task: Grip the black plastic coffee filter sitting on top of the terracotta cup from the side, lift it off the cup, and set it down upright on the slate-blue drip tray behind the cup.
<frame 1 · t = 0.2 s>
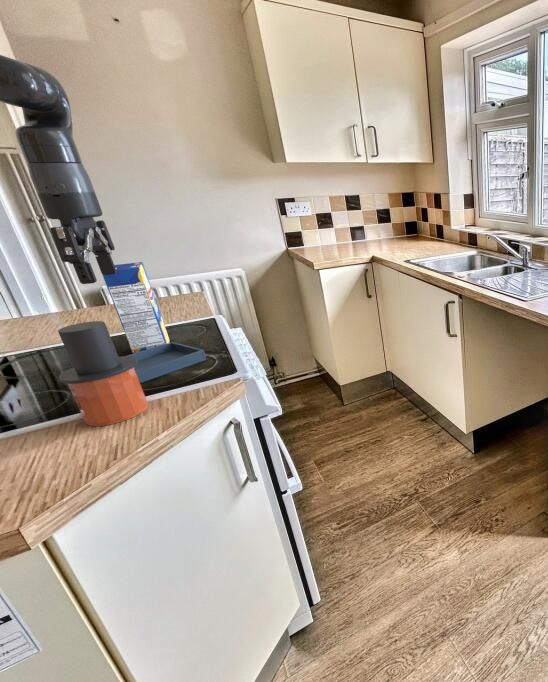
hand: (100, 278, 82), 24 cm above the worktop, tool pointing down, fingers open, 8 cm apart
beverage box: (153, 349, 112), on the worktop
cup: (118, 413, 80), on the worktop
tray: (147, 369, 99), on the worktop
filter: (106, 385, 78), point 6 cm above the worktop, touching cup
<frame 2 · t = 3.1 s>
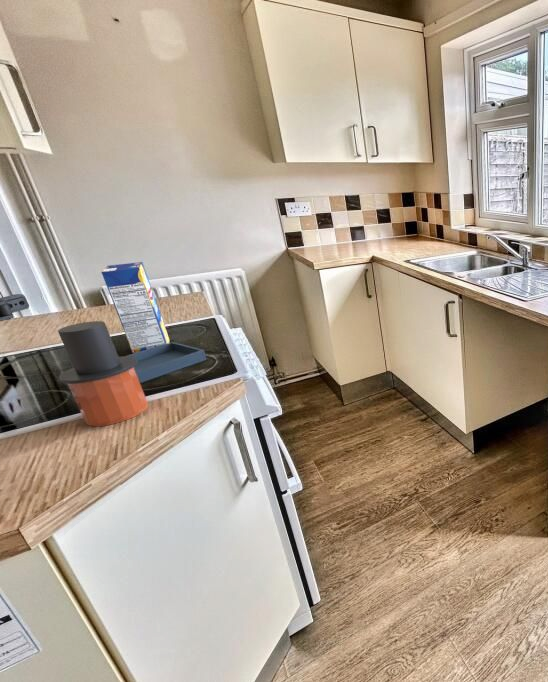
nothing on the worktop moved.
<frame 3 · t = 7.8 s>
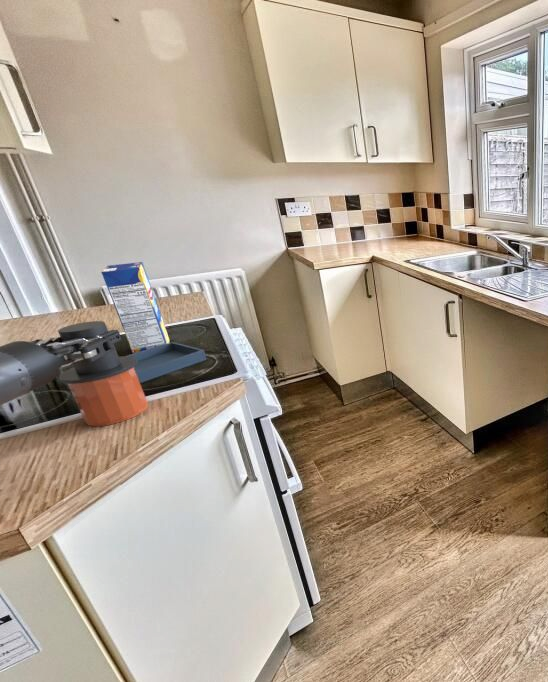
hand: (99, 335, 77), 15 cm above the worktop, tool horizontal, fingers closed on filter, 6 cm apart
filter: (106, 385, 78), point 6 cm above the worktop, touching cup, gripper
everything else where it was.
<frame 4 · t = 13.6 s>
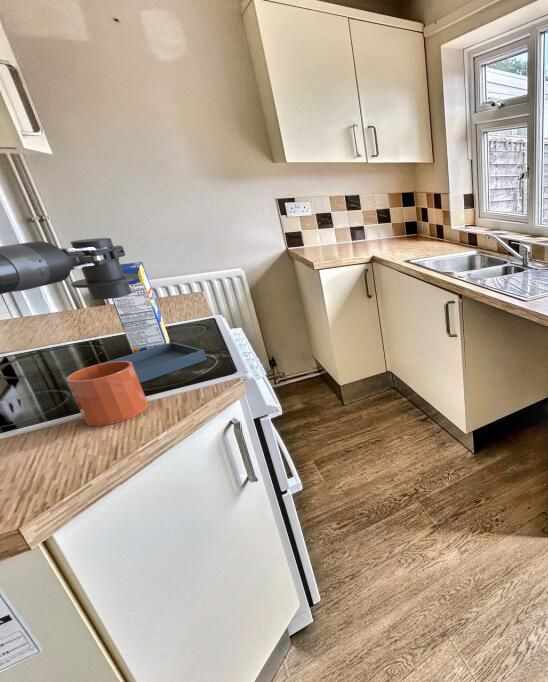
hand: (105, 251, 88), 28 cm above the worktop, tool horizontal, fingers closed on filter, 6 cm apart
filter: (112, 295, 89), point 19 cm above the worktop, touching gripper
everything else where it was.
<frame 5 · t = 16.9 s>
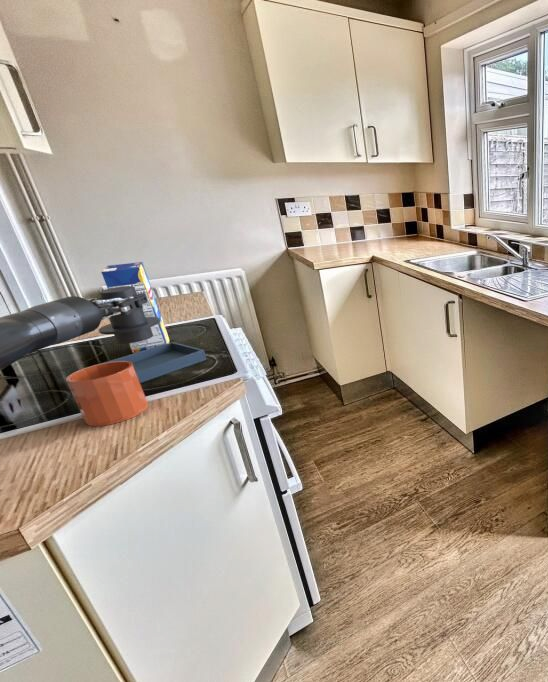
hand: (129, 298, 95), 17 cm above the worktop, tool horizontal, fingers closed on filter, 6 cm apart
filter: (135, 338, 96), point 8 cm above the worktop, touching gripper
everything else where it was.
when the fingers open (10 cm above the worktop, at t = 19.4 s): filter stays where it is, resting on tray.
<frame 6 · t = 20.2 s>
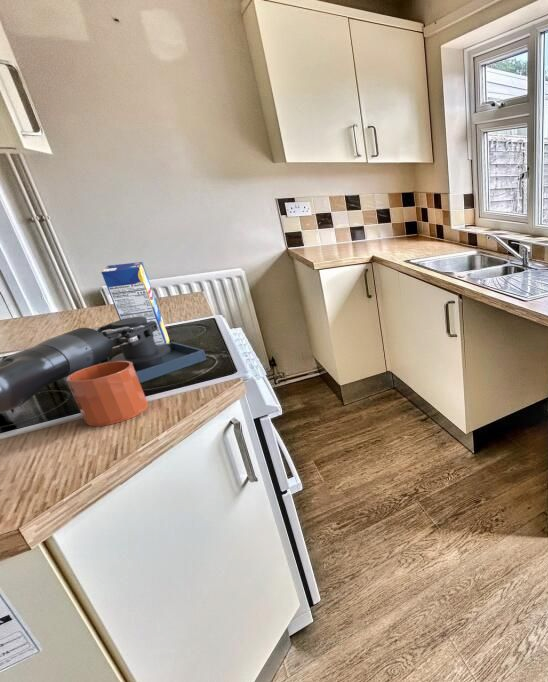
hand: (136, 325, 97), 11 cm above the worktop, tool horizontal, fingers open, 8 cm apart
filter: (146, 367, 99), point 1 cm above the worktop, touching tray
everything else where it was.
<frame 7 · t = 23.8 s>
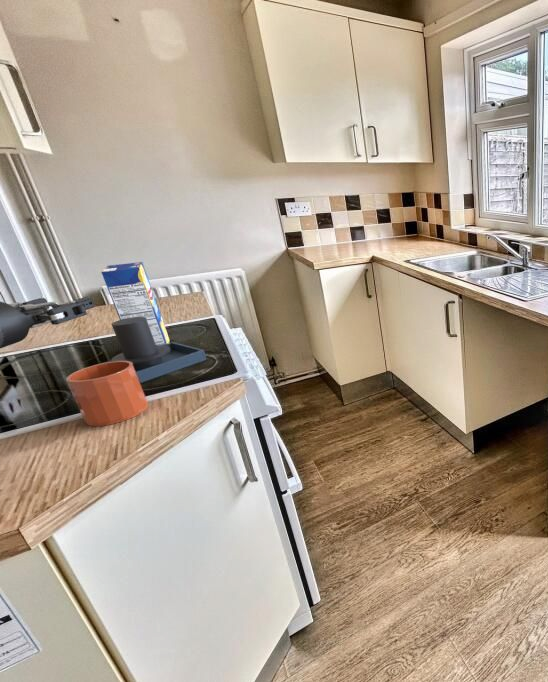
hand: (68, 302, 82), 20 cm above the worktop, tool horizontal, fingers open, 8 cm apart
nothing on the worktop moved.
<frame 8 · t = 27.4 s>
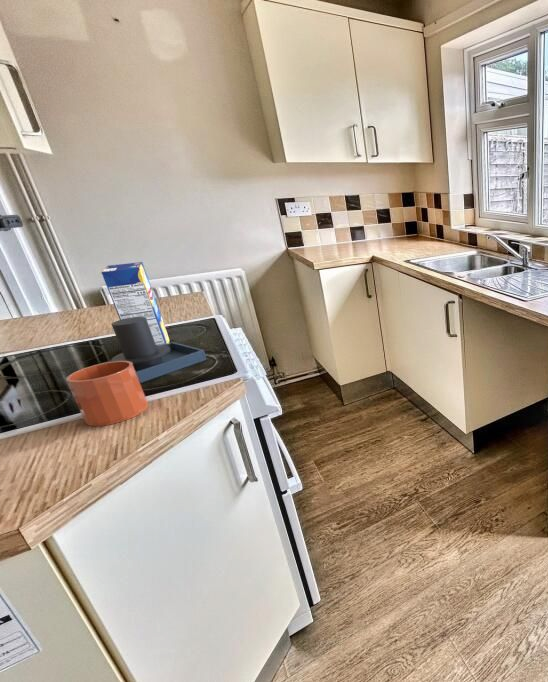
nothing on the worktop moved.
at the end: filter inside the target area in the tray (0.1 cm from its centre), point 0.6 cm above the tray's base; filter tilted 0°; the gripper is holding nothing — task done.
